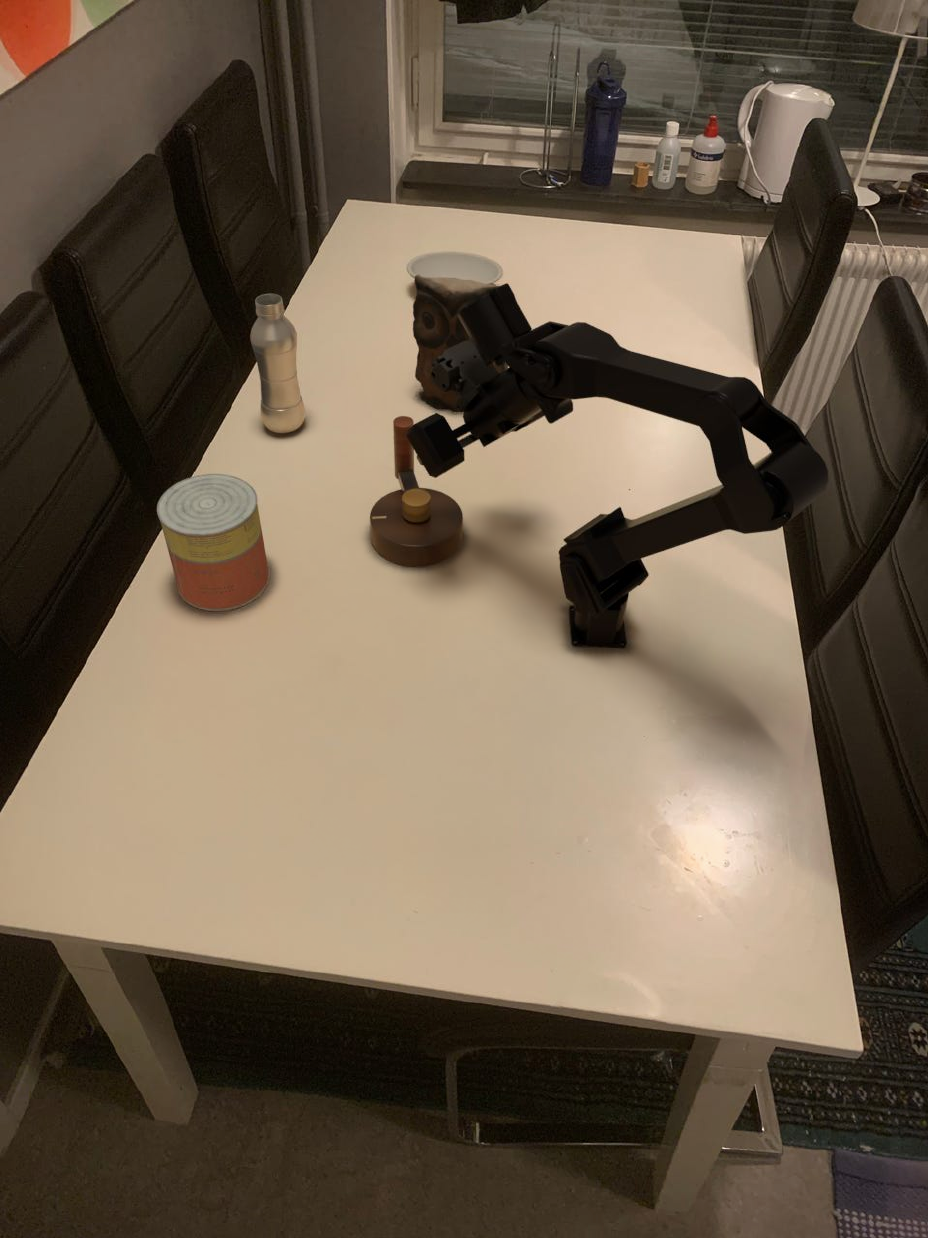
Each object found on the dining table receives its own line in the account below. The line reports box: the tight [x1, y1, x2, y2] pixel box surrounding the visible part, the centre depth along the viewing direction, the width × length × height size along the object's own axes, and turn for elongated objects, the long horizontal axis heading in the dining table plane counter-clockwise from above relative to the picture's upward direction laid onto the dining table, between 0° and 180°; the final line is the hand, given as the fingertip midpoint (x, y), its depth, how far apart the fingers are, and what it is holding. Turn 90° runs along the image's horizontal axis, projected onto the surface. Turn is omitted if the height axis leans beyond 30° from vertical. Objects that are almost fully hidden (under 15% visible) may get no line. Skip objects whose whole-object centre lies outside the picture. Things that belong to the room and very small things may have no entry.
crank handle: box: [392, 415, 431, 522], centre depth 117 cm, size 11×4×9 cm, turn 14°
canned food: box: [156, 473, 271, 612], centre depth 109 cm, size 11×11×12 cm
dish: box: [405, 251, 504, 285], centre depth 167 cm, size 18×14×5 cm
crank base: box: [369, 487, 464, 568], centre depth 119 cm, size 12×12×4 cm
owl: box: [412, 275, 509, 413], centre depth 137 cm, size 13×13×20 cm
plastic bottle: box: [249, 293, 306, 434], centre depth 130 cm, size 6×7×20 cm
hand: (446, 445), depth 113 cm, fingers open, 9 cm apart
